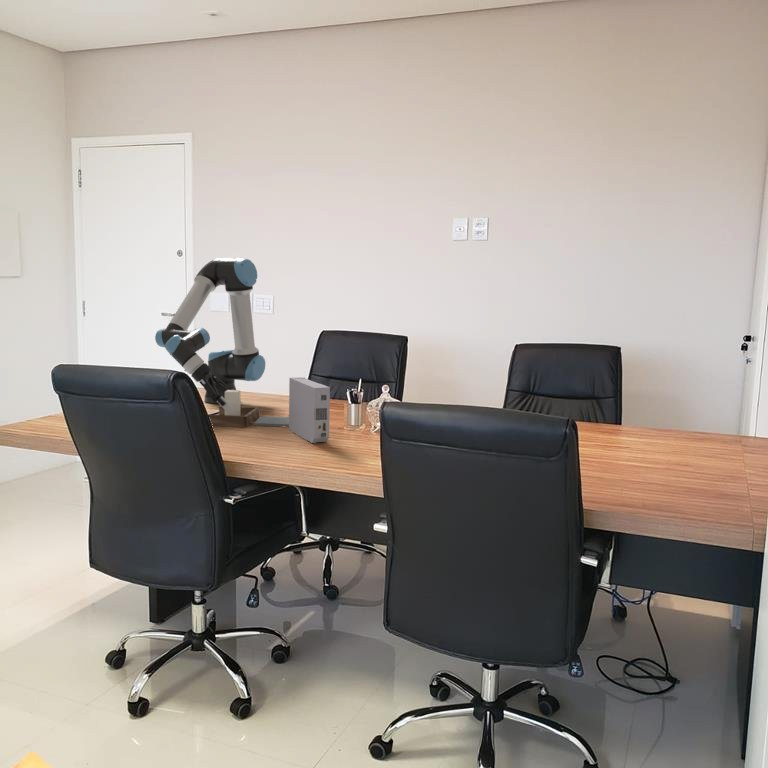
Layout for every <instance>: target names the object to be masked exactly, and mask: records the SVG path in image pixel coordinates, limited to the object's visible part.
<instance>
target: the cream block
mask: <svg viewBox="0 0 768 768" xmlns="http://www.w3.org/2000/svg"><path fill="white" fill-rule="evenodd" d="M225 400H226V401H227V402H228V403H229V404H230V405H231V406H232V407H233V408H234V409H233V410H231V411H230V412H229V413H227V412H226V411H225V415H232V416H240V407H241V405H240V401H241V390H240V389H236V390H227V391H225Z"/></svg>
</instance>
